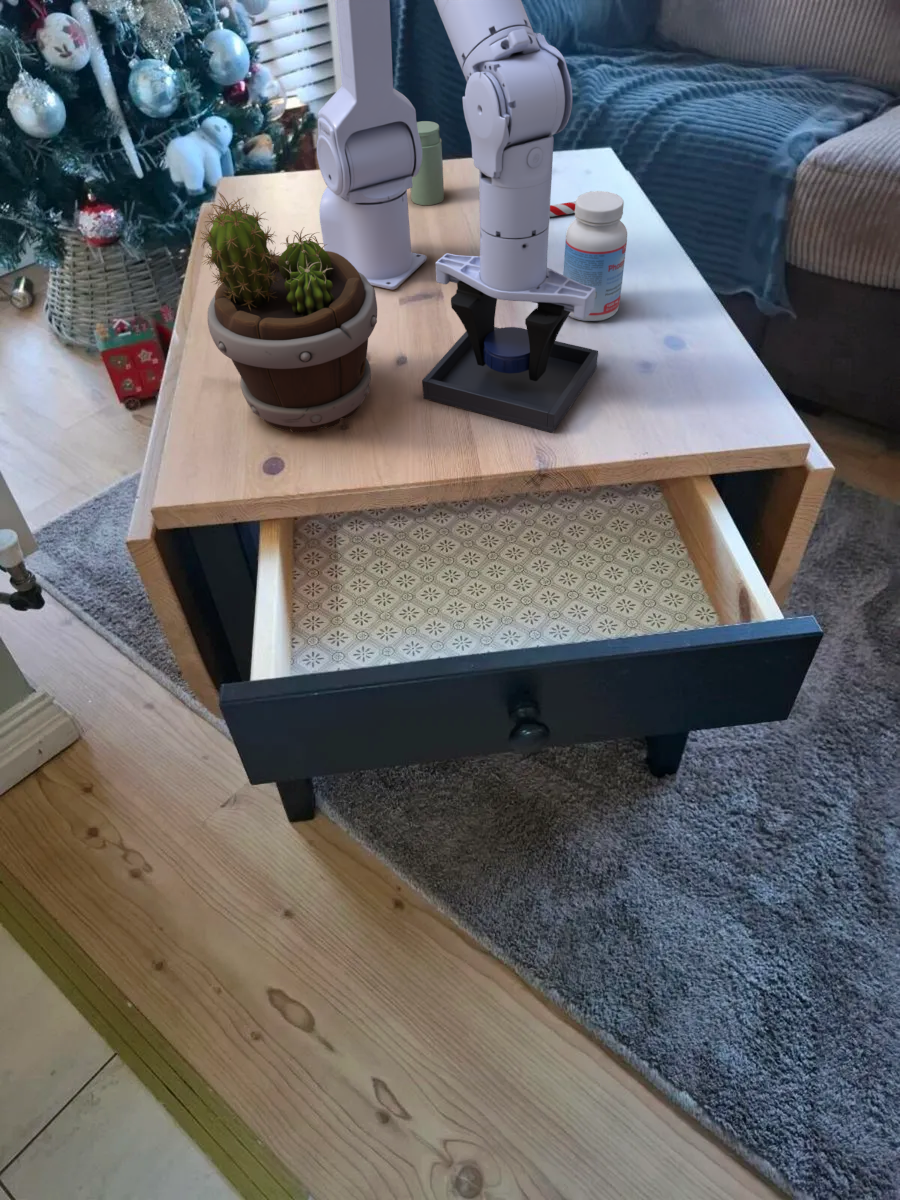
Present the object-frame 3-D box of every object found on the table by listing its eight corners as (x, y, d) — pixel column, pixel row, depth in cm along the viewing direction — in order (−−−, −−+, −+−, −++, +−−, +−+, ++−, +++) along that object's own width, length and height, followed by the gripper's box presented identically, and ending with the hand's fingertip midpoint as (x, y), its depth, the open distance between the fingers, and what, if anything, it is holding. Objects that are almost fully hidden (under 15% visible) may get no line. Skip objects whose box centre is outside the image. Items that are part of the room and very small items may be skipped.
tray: (423, 398, 79) (421, 380, 78) (474, 339, 86) (474, 322, 84) (553, 433, 75) (554, 414, 73) (596, 368, 81) (598, 350, 80)
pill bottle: (616, 325, 86) (630, 216, 78) (557, 321, 87) (564, 212, 79) (620, 296, 90) (633, 189, 82) (564, 292, 91) (571, 186, 83)
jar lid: (500, 379, 76) (500, 362, 75) (474, 353, 79) (474, 335, 78) (547, 364, 77) (549, 346, 76) (520, 338, 80) (521, 321, 79)
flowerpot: (379, 350, 85) (355, 138, 70) (394, 442, 75) (370, 216, 60) (235, 366, 84) (180, 154, 69) (230, 461, 74) (164, 237, 59)
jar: (405, 202, 108) (400, 130, 102) (420, 189, 111) (415, 118, 104) (435, 207, 107) (431, 134, 101) (449, 194, 110) (446, 122, 103)
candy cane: (613, 206, 102) (490, 210, 103) (612, 217, 103) (490, 221, 104) (606, 180, 107) (489, 184, 108) (605, 190, 108) (489, 194, 109)
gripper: (615, 220, 69) (599, 365, 79) (461, 189, 74) (464, 329, 84) (580, 257, 65) (568, 405, 75) (419, 221, 70) (428, 364, 80)
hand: (511, 367), depth 79 cm, fingers closed on jar lid, 5 cm apart
